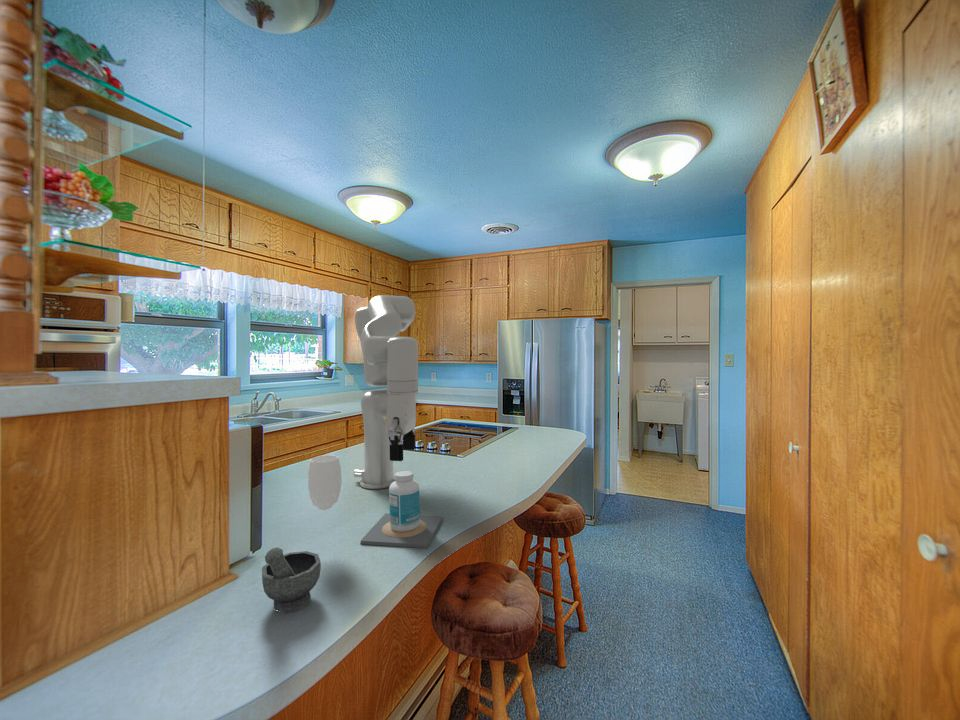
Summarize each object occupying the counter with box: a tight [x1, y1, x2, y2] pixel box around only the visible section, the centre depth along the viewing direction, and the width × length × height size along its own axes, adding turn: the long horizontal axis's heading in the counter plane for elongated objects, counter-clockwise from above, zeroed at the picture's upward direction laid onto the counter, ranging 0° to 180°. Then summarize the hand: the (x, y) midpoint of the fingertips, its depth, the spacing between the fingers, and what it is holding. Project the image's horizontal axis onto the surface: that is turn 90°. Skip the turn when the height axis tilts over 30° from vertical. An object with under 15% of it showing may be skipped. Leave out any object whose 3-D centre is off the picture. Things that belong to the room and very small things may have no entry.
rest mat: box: [360, 512, 444, 549], centre depth 102 cm, size 16×16×1 cm
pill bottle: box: [388, 470, 421, 532], centre depth 102 cm, size 8×7×14 cm
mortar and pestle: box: [261, 546, 322, 614], centre depth 73 cm, size 11×9×12 cm
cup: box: [307, 454, 342, 511], centre depth 93 cm, size 7×7×21 cm
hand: (403, 454), depth 102 cm, fingers open, 9 cm apart
